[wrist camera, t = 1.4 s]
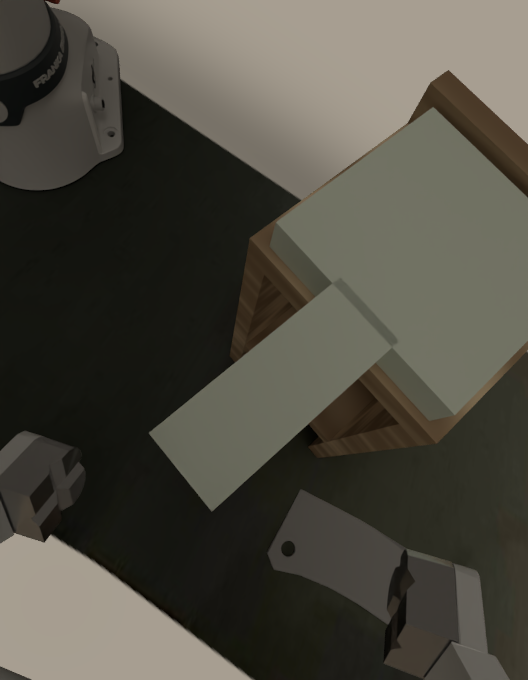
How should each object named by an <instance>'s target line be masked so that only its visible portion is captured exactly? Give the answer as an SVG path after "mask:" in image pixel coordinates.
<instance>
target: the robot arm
mask: <svg viewBox="0 0 528 680" xmlns="http://www.w3.org/2000/svg"><path fill="white" fill-rule="evenodd" d="M45 1H49V2H51V3H54V4H58V3H59V2H60V0H0V181H1V182H3V183H5V184H7V185H10V186H13V187H16V188H20V189H26V190H48V189H54V188H58V187H62V186H65V185H67V184H70V183H72V182H74V181H76V180H78V179H79V178H81V177H82V176H84V175H85V174H86V173H87V172H89V171H90V170H91V169H92V168H93V167H94V166H95V165H97V164H98V163H99V162H101V161H104V160H107V159H110V158H112V157H114V156H117V155H118V154H120V153H121V152H122V151H123V148H124V140H123V122H122V104H121V86H120V68H119V58H118V54H117V51H116V49H114V48H113V47H112V46H111V45H109V44H108V43H106V42H104V41H102V40H100V39H98V38H96V37H93V35H92V32H91V29H90V27H89V26H88V24H86V22H85V21H83V20H82V19H81V18H79V17H77V16H75V15H74V14H71V13H69V12H66V11H62V10H59V9H55V8H51V7H49V5H48V4H47V3H46V2H45ZM111 135H114V136H113V137H109V136H111ZM81 458H82V455H81V451H80V448H77V447H74V446H71V445H68V444H65V443H61V442H58V441H55V440H52V439H49V438H46V437H44V436H40V435H37V434H34V433H31V432H27V431H23V432H21V433H19V434H17V435H16V436H15V437H14V438H13V439H12V440H11V441H10V442H9V443H8V444H7V445H6V446H5V447H4V448H3V449H2V450H1V451H0V543H2V542H3V541H5V540H6V539H8V538H10V537H11V536H13V535H14V533H16V534H20V535H22V536H26V537H29V538H32V539H35V540H38V541H41V542H45V541H46V539H47V538H48V537H49V536H50V534H51V533H52V532H53V530H54V529H55V528H56V526H57V525H58V524H59V523H60V521H61V520H62V510H63V509H65V508H67V507H69V506H71V505H73V504H74V502H75V501H76V500H77V498H78V497H79V495H80V493H81V491H82V489H83V486H84V484H85V477H86V475H85V469H84V468H83V467H82V465H81V464H80V463H79V460H80V459H81ZM387 611H388V613H389V615H390V617H391V620H390V622H389V624H388V626H387V628H386V630H385V644H384V661H383V663H384V664H386V665H389V666H392V667H394V668H397V669H399V670H402V671H404V672H407V673H410V674H412V675H415V676H417V677H420V678H423V679H424V680H510V679H509V678H508V676H507V675H506V673H505V671H504V670H503V668H502V666H501V665H500V663H499V661H498V660H497V658H496V656H493V655H491V654H488V650H487V640H486V631H485V622H484V612H483V603H482V594H481V584H480V576H479V574H478V572H477V571H476V570H475V569H472V568H468V567H465V566H461V565H458V564H454V563H451V562H450V561H447V560H443V559H440V558H436V557H433V556H430V555H426V554H423V553H419V552H416V551H412V550H409V549H405V550H404V551H403V553H402V555H401V558H400V566H399V567H396V568H395V570H394V572H393V574H392V577H391V581H390V585H389V591H388V599H387ZM0 680H31V679H29V678H26V677H24V676H22V675H19V674H17V673H14V672H12V671H10V670H7V669H5V668H2V667H0Z"/></svg>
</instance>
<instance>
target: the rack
mask: <svg viewBox="0 0 528 680" xmlns="http://www.w3.org/2000/svg"><path fill="white" fill-rule="evenodd" d="M432 107H434V108H435V109H436V110H437V111H438V112H439V113H440V114H441V115H442V116H443V117H444V118H445V119H446V120H447V121H448V122H450V123H451V124H452V125H453V126H454V127H455V128H456V129H457V130H458V131H459V132H460V133H461V134H462V135H463V136H464V137H465V138H466V139H467V140H468V141H469V142H470V143H471V144H472V145H473V146H475V147H476V148H477V149H478V150H479V151H480V152H481V153H482V154H483V155H484V156H485V157H486V158H487V159H488V160H489V161H490V162H491V163H492V164H493V165H494V166H495V167H496V168H497V169H498V170H500V171H501V172H502V173H503V174H504V175H505V176H506V177H507V178H508V179H509V180H510V181H511V182H512V183H513V184H514V185H515V186H516V187H517V188H518V189H519V190H520V191H521V192H522V193H523V194H525V195H526V196H527V197H528V144H527V143H526V142H525V141H523V140H522V139H521V138H520V137H519V136H518V135H517V134H516V133H515V132H514V131H513V130H512V129H511V128H510V127H509V126H508V125H506V124H505V123H504V122H503V121H502V120H501V119H500V118H499V117H498V116H497V115H496V114H495V113H493V111H491V110H490V109H489V108H488V107H487V106H486V105H485V104H484V103H483V102H482V101H481V100H480V99H479V98H478V97H477V96H476V95H474V94H473V93H472V92H471V91H470V90H469V89H468V88H467V87H466V86H465V85H464V84H463V83H461V82H460V81H459V79H457V78H456V77H455V76H454V75H453V74H452V73H451V72H450V71H449V70H448V71H447V72H445V73H444V74H442V75H441V76H440V77H438V78H437V79H435V80H434V81H432V82H431V83H430V85H429V86H428V88H427V90H426V92H425V93H424V95H423V97H422V99H421V101H420V102H419V104H418V106H417V107H416V109H415V111H414V113H413V115H412V116H411V118H410V120H409V122H408V123H407V124H406V125H405V126H403V127H402V128H400V129H399V130H398V131H396V132H395V133H393V134H392V135H391V136H389V137H388V138H387V139H385V140H384V141H382V142H381V143H380V144H378V145H377V146H376V147H374V148H373V149H372V150H370V151H369V152H368V153H366V154H365V155H363V156H362V157H361V158H359V159H358V160H357V161H355V162H354V163H352V164H351V165H350V166H348V167H347V168H346V169H345V170H343V171H342V172H340V173H339V174H337V175H336V176H335V177H333V178H332V179H330V180H329V181H328V182H326V183H325V184H324V185H322V186H321V187H320V188H318V189H317V190H315V191H314V192H313V193H311V194H310V195H309V196H308V197H306V198H304V199H303V200H302V201H300V202H299V203H298V204H296V205H295V206H294V207H292V208H291V209H289V210H288V211H287V212H285V213H284V214H283V215H281V216H280V217H278V218H277V219H276V220H274V221H273V222H272V223H270V224H269V225H268V226H266V227H265V228H263V229H262V230H261V231H259V232H258V233H257V234H255V235H254V236H252V237H251V238H250V241H249V247H248V252H247V258H246V264H245V270H244V276H243V281H242V287H241V293H240V299H239V305H238V310H237V316H236V322H235V328H234V334H233V339H232V345H231V351H230V357H231V358H232V359H233V361H234V362H237V361H238V360H239V359H240V358H241V357H243V356H244V355H245V354H246V353H248V352H249V351H250V350H251V349H253V348H254V347H255V346H256V345H257V344H259V343H260V342H261V341H262V340H264V339H265V338H266V337H267V336H268V335H270V334H271V333H272V332H273V331H275V330H276V329H277V328H278V327H280V326H281V325H282V324H283V323H284V322H286V321H287V320H288V319H289V318H291V317H292V316H293V315H294V314H295V313H297V312H298V311H299V310H300V309H302V308H303V307H304V306H305V305H306V304H308V303H309V302H310V301H311V300H313V299H314V298H315V296H314V295H313V294H312V293H311V292H310V290H309V289H308V288H307V287H306V286H305V285H304V284H303V283H302V282H301V281H300V280H299V278H298V277H297V276H296V275H295V274H294V273H293V272H292V271H291V270H290V269H289V268H288V266H287V265H286V264H285V263H284V262H283V261H282V260H281V259H280V258H279V257H278V255H277V254H276V253H275V252H274V251H273V250H272V249H271V248H270V247H269V246H270V242H271V239H272V235H273V231H274V227H275V224H276V222H277V221H278V220H280V219H281V218H282V217H284V216H285V215H286V214H288V213H289V212H290V211H292V210H293V209H295V208H296V207H297V206H299V205H300V204H301V203H303V202H304V201H305V200H307V199H308V198H310V197H311V196H312V195H314V194H315V193H316V192H318V191H319V190H320V189H322V188H323V187H325V186H326V185H327V184H329V183H330V182H331V181H333V180H334V179H335V178H337V177H338V176H340V175H341V174H342V173H344V172H345V171H346V170H348V169H349V168H350V167H352V166H353V165H355V164H356V163H357V162H359V161H360V160H361V159H363V158H364V157H365V156H367V155H368V154H370V153H371V152H372V151H374V150H375V149H376V148H378V147H379V146H381V145H382V144H383V143H385V142H386V141H387V140H389V139H390V138H391V137H393V136H394V135H396V134H397V133H398V132H400V131H401V130H402V129H404V128H405V127H406V126H408V125H409V124H411V123H412V122H413V121H415V120H416V119H417V118H419V117H420V116H421V115H423V114H424V113H426V112H427V111H428V110H430V109H431V108H432ZM527 350H528V341H527V342H526V343H525V344H524V345H523V346H522V347H521V348H520V349H519V350H518V351H517V352H516V353H515V354H514V355H513V356H512V357H511V358H510V359H509V360H508V361H507V362H506V364H505V365H504V366H503V367H502V368H501V369H500V370H499V371H498V372H497V373H496V374H495V375H494V376H493V377H492V378H491V379H490V380H489V381H488V382H487V383H486V384H485V385H484V386H483V387H482V388H481V389H480V390H479V391H478V392H477V393H476V394H475V395H474V396H473V397H472V398H471V399H470V400H469V401H468V402H467V403H466V404H465V405H464V406H463V407H462V408H461V409H460V411H459V412H458V413H457V414H456V415H454V416H449V417H445V418H441V419H436V420H432V421H429V420H428V419H427V418H426V417H425V416H424V415H423V414H422V413H421V412H420V411H419V410H418V408H417V407H416V406H415V405H414V404H413V403H412V402H411V401H410V400H409V399H408V398H407V396H406V395H405V394H404V393H403V392H402V391H401V390H400V389H399V388H398V387H397V385H396V384H395V383H394V382H393V381H392V380H391V379H390V378H389V377H388V376H387V375H386V373H385V372H384V371H383V370H382V369H381V368H380V367H379V366H378V365H377V364H376V363H375V364H373V365H372V366H371V367H370V368H369V369H368V370H367V371H366V372H365V373H364V374H363V375H361V376H360V377H359V378H358V379H357V380H356V381H355V382H354V383H353V384H352V385H350V386H349V387H348V388H347V389H346V390H345V391H344V392H343V393H342V394H341V395H339V396H338V397H337V398H336V399H335V400H334V401H333V402H332V403H331V404H330V405H328V406H327V407H326V408H325V409H324V410H323V411H322V412H321V413H320V414H319V415H317V416H316V417H315V418H314V419H313V420H312V421H311V422H310V423H309V425H310V427H311V428H312V429H313V430H314V431H315V432H316V433H317V435H318V436H319V437H318V438H317V439H316V440H315V441H314V442H312V443H311V444H310V445H309V446H308V448H309V449H310V450H311V451H312V452H313V454H314V455H315V456H316V457H317V458H323V457H331V456H340V455H348V454H356V453H364V452H372V451H380V450H389V449H397V448H405V447H413V446H421V445H430V444H437V443H438V442H439V441H440V440H441V439H442V438H443V437H444V436H445V435H446V434H447V433H448V432H449V431H450V430H451V428H452V427H453V426H454V425H455V424H456V423H457V422H458V421H459V420H460V419H461V418H462V417H463V416H464V415H465V414H466V413H467V412H468V411H469V410H470V409H471V408H472V407H473V406H474V405H475V404H476V403H477V402H478V401H479V400H480V399H481V398H482V397H483V396H484V394H485V393H486V392H487V391H488V390H489V389H490V388H491V387H492V386H493V385H494V384H495V383H496V382H497V381H498V380H499V379H500V378H501V377H502V376H503V375H504V374H505V373H506V372H507V371H508V370H509V369H510V368H511V367H512V366H513V365H514V364H515V363H516V362H517V360H518V359H519V358H520V357H521V356H522V355H523V354H524V353H525V352H526V351H527Z"/></svg>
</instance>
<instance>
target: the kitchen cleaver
mask: <svg viewBox="0 0 528 680" xmlns="http://www.w3.org/2000/svg"><path fill="white" fill-rule="evenodd" d="M285 541H291V542H292V543H293V544H294V552H293V553H292V555H290V556H285V555H283V554H282V552H281V546H282V544H283V543H284V542H285ZM405 549H406V548H404V547H403V546H401V545H400V544H398V543H397V542H395V541H393V540H392V539H390V538H389V537H387V536H386V535H384V534H382V533H381V532H379V531H378V530H376V529H374V528H373V527H371V526H370V525H368V524H366V523H364V522H363V521H361V520H359V519H357V518H355V517H354V516H352V515H350V514H348V513H346V512H344V511H342V510H340V509H338V508H336V507H335V506H333V505H331V504H329V503H327V502H325V501H323V500H321V499H319V498H317V497H315V496H313V495H311V494H309V493H308V492H306V491H303V490H300V491H299V493H298V495H297V497H296V499H295V501H294V503H293V504H292V506H291V508H290V510H289V512H288V514H287V516H286V517H285V519H284V521H283V523H282V525H281V527H280V528H279V530H278V532H277V534H276V536H275V538H274V540H273V541H272V543H271V545H270V547H269V549H268V551H267V554H268V557H269V559H270V562H271V565H272V568H273V569H274V570H278V571H283V572H288V573H292V574H297V575H301V576H303V577H305V578H308V579H310V580H313V581H315V582H317V583H320V584H322V585H324V586H327V587H329V588H331V589H333V590H335V591H336V592H338V593H340V594H342V595H343V596H345V597H347V598H349V599H350V600H352V601H354V602H356V603H357V604H359V605H360V606H362V607H363V608H364V609H366V610H367V611H369V612H370V613H372V614H373V615H375V616H376V617H378V618H379V619H380V620H382V621H383V622H385V623H386V624H389V622H390V620H391V617H390V615H389V613H388V611H387V599H388V591H389V585H390V581H391V577H392V574H393V572H394V570H395V568H396V567H399V566H400V558H401V555H402V553H403V551H404V550H405Z"/></svg>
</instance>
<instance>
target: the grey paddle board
mask: <svg viewBox="0 0 528 680" xmlns="http://www.w3.org/2000/svg"><path fill="white" fill-rule="evenodd" d="M269 247H270V248H271V249H272V250H273V251H274V252H275V253H276V254H277V255H278V257H279V258H280V259H281V260H282V261H283V262H284V263H285V264H286V265H287V266H288V268H289V269H290V270H291V271H292V272H293V273H294V274H295V275H296V276H297V277H298V278H299V280H300V281H301V282H302V283H303V284H304V285H305V286H306V287H307V288H308V289H309V290H310V292H311V293H312V294H313V295H314V296H315V298H314V299H313V300H311V301H310V302H309V303H308V304H306V305H305V306H304V307H303V308H302V309H300V310H299V311H298V312H297V313H295V314H294V315H293V316H292V317H291V318H289V319H288V320H287V321H286V322H284V323H283V324H282V325H281V326H280V327H278V328H277V329H276V330H275V331H273V332H272V333H271V334H270V335H268V336H267V337H266V338H265V339H264V340H262V341H261V342H260V343H259V344H257V345H256V346H255V347H254V348H253V349H251V350H250V351H249V352H248V353H246V354H245V355H244V356H243V357H241V358H240V359H239V360H238V361H237V362H235V363H234V364H233V365H232V366H230V367H229V368H228V369H227V370H226V371H224V372H223V373H222V374H221V375H219V376H218V377H217V378H216V379H214V380H213V381H212V382H211V383H210V384H208V385H207V386H206V387H205V388H203V389H202V390H201V391H200V392H199V393H197V394H196V395H195V396H194V397H192V398H191V399H190V400H189V401H188V402H186V403H185V404H184V405H183V406H181V407H180V408H179V409H178V410H176V411H175V412H174V413H173V414H172V415H170V416H169V417H168V418H167V419H165V420H164V421H163V422H162V423H161V424H159V425H158V426H157V427H156V428H154V429H153V430H152V431H151V432H149V434H150V435H151V437H152V438H153V439H154V440H155V442H156V443H157V444H158V445H159V447H160V448H161V449H162V450H163V452H164V453H165V454H166V455H167V457H168V458H169V459H170V460H171V462H172V463H173V464H174V465H175V466H176V468H177V469H178V470H179V471H180V473H181V474H182V475H183V476H184V478H185V479H186V480H187V481H188V483H189V484H190V485H191V486H192V488H193V489H194V490H195V491H196V493H197V494H198V495H199V496H200V498H201V499H202V500H203V501H204V503H205V504H206V505H207V506H208V508H209V509H210V510H211V511H213V510H214V509H215V508H216V507H218V506H219V505H220V504H221V503H222V502H223V501H224V500H225V499H226V498H227V497H228V496H230V495H231V494H232V493H233V492H234V491H235V490H236V489H237V488H238V487H239V486H241V485H242V484H243V483H244V482H245V481H246V480H247V479H248V478H249V477H250V476H252V475H253V474H254V473H255V472H256V471H257V470H258V469H259V468H260V467H261V466H263V465H264V464H265V463H266V462H267V461H268V460H269V459H270V458H271V457H272V456H274V455H275V454H276V453H277V452H278V451H279V450H280V449H281V448H282V447H283V446H285V445H286V444H287V443H288V442H289V441H290V440H291V439H292V438H293V437H294V436H296V435H297V434H298V433H299V432H300V431H301V430H302V429H303V428H304V427H305V426H306V425H308V424H309V423H310V422H311V421H312V420H313V419H314V418H315V417H316V416H317V415H319V414H320V413H321V412H322V411H323V410H324V409H325V408H326V407H327V406H328V405H330V404H331V403H332V402H333V401H334V400H335V399H336V398H337V397H338V396H339V395H341V394H342V393H343V392H344V391H345V390H346V389H347V388H348V387H349V386H350V385H352V384H353V383H354V382H355V381H356V380H357V379H358V378H359V377H360V376H361V375H363V374H364V373H365V372H366V371H367V370H368V369H369V368H370V367H371V366H372V365H373V364H375V363H376V364H377V365H378V366H379V367H380V368H381V369H382V370H383V371H384V372H385V373H386V375H387V376H388V377H389V378H390V379H391V380H392V381H393V382H394V383H395V384H396V385H397V387H398V388H399V389H400V390H401V391H402V392H403V393H404V394H405V395H406V396H407V398H408V399H409V400H410V401H411V402H412V403H413V404H414V405H415V406H416V407H417V408H418V410H419V411H420V412H421V413H422V414H423V415H424V416H425V417H426V418H427V419H428V420H429V421H432V420H436V419H441V418H445V417H449V416H454V415H456V414H457V413H458V412H459V411H460V409H461V408H462V407H463V406H464V405H465V404H466V403H467V402H468V401H469V400H470V399H471V398H472V397H473V396H474V395H475V394H476V393H477V392H478V391H479V390H480V389H481V388H482V387H483V386H484V385H485V384H486V383H487V382H488V381H489V380H490V379H491V378H492V377H493V376H494V375H495V374H496V373H497V372H498V371H499V370H500V369H501V368H502V367H503V366H504V365H505V364H506V362H507V361H508V360H509V359H510V358H511V357H512V356H513V355H514V354H515V353H516V352H517V351H518V350H519V349H520V348H521V347H522V346H523V345H524V344H525V343H526V342H527V341H528V197H527V196H526V195H525V194H523V193H522V192H521V191H520V190H519V189H518V188H517V187H516V186H515V185H514V184H513V183H512V182H511V181H510V180H509V179H508V178H507V177H506V176H505V175H504V174H503V173H502V172H501V171H500V170H498V169H497V168H496V167H495V166H494V165H493V164H492V163H491V162H490V161H489V160H488V159H487V158H486V157H485V156H484V155H483V154H482V153H481V152H480V151H479V150H478V149H477V148H476V147H475V146H473V145H472V144H471V143H470V142H469V141H468V140H467V139H466V138H465V137H464V136H463V135H462V134H461V133H460V132H459V131H458V130H457V129H456V128H455V127H454V126H453V125H452V124H451V123H450V122H448V121H447V120H446V119H445V118H444V117H443V116H442V115H441V114H440V113H439V112H438V111H437V110H436V109H435V108H434V107H432V108H431V109H430V110H428V111H427V112H426V113H424V114H423V115H421V116H420V117H419V118H417V119H416V120H415V121H413V122H412V123H411V124H409V125H408V126H406V127H405V128H404V129H402V130H401V131H400V132H398V133H397V134H396V135H394V136H393V137H391V138H390V139H389V140H387V141H386V142H385V143H383V144H382V145H381V146H379V147H378V148H376V149H375V150H374V151H372V152H371V153H370V154H368V155H367V156H365V157H364V158H363V159H361V160H360V161H359V162H357V163H356V164H355V165H353V166H352V167H350V168H349V169H348V170H346V171H345V172H344V173H342V174H341V175H340V176H338V177H337V178H335V179H334V180H333V181H331V182H330V183H329V184H327V185H326V186H325V187H323V188H322V189H320V190H319V191H318V192H316V193H315V194H314V195H312V196H311V197H310V198H308V199H307V200H305V201H304V202H303V203H301V204H300V205H299V206H297V207H296V208H295V209H293V210H292V211H290V212H289V213H288V214H286V215H285V216H284V217H282V218H281V219H280V220H278V221H277V222H276V224H275V227H274V231H273V235H272V239H271V242H270V246H269Z"/></svg>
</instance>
